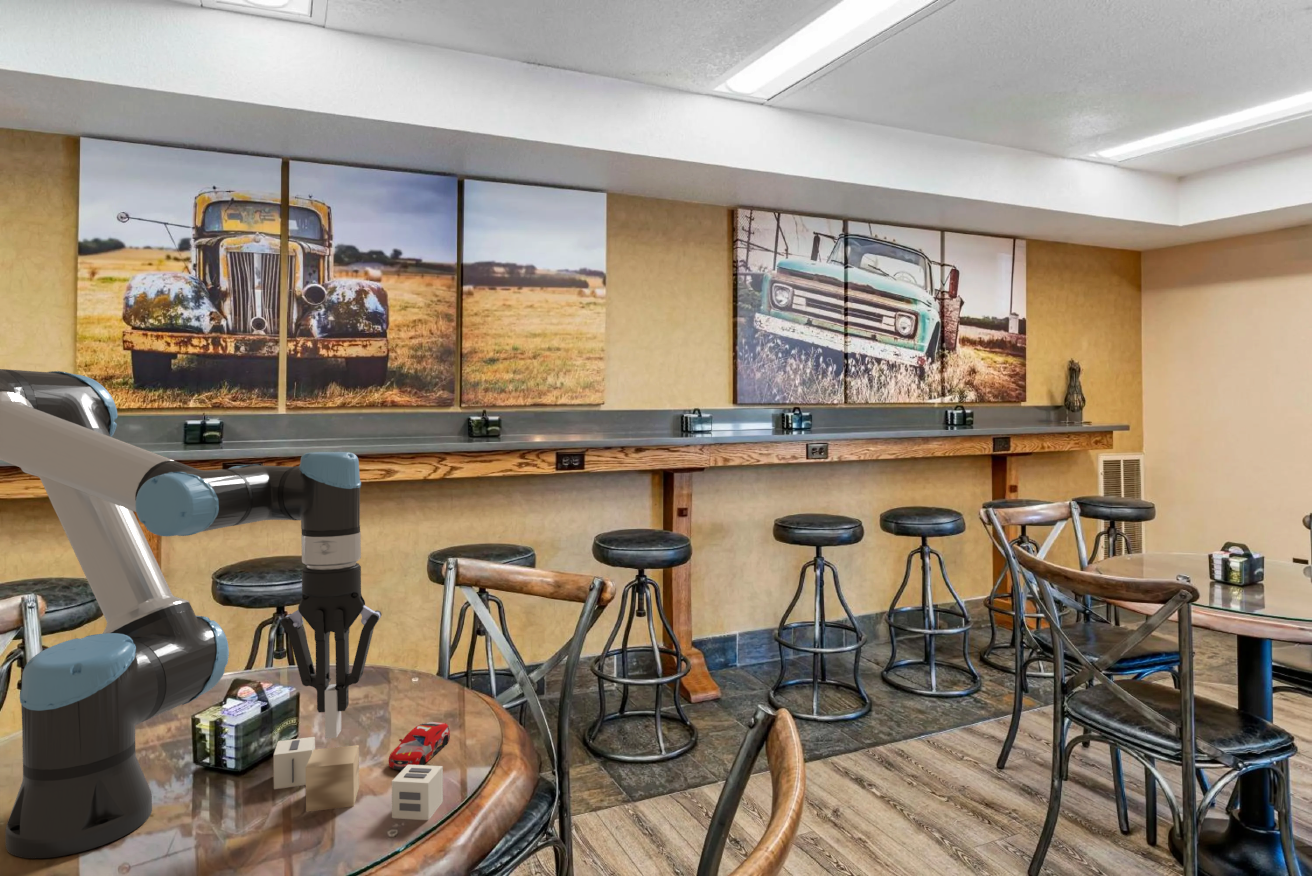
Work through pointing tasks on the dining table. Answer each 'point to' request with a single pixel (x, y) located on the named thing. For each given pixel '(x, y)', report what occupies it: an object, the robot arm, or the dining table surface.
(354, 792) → the plain block
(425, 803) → the marked block
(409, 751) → the race car
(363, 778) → the dining table surface
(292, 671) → the dining table surface
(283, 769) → the marked block
